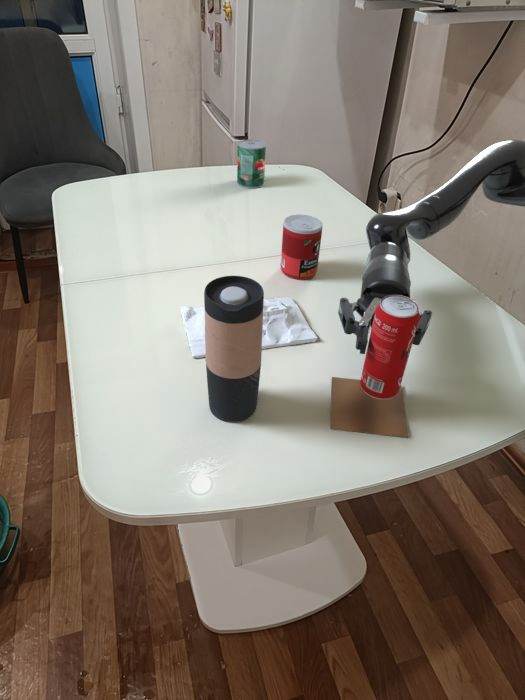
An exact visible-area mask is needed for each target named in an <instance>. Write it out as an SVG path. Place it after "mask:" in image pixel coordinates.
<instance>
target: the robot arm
mask: <svg viewBox="0 0 525 700" xmlns="http://www.w3.org/2000/svg"><path fill="white" fill-rule="evenodd" d="M480 186H481V190H482V194H483V197H485V198H486V200H489V201H490V202H494V203H497V204H503V205H509V206H514V207H519V208H525V140H522V139H507V140H502V141H499V142H497V143H494V144H492V145H490V146H488V147H487V148H485V149H484V150H482V151H481V152H480V153H479V154H477V155H476V156H475V157H474V158H472V159H471V160H470V161H469V162H468V163H466V165H464V166H463V167H462V168H461V169H460V170H459V171H458V172H456V174H454V175H453V177H451V178H450V179H449V180H448V181H447V182H445V183H444V184H442V185H441V186H439V187H438V188H437V189H435V190H434V191H432V192H431V193H429V194H427V195H426V196H424V197H422V198H420V199H419V200H417V201H416V202H414V203H412V204H410V205H407V206H404V207H402V208H398V209H394V210H388V211H384V212H383V211H382V212H379V213H377V214H375V215H373V216H372V217H371V218H370V219H369V220H368V222H367V223H366V225H365V235H366V239H367V244H368V247H369V252H368V254H367V257H366V260H365V261H366V262H365V269H364V272H363V275H362V278H361V289H360V297H359V298H358V299H357V300H356V301H349V299H348V298H347V297H340V299H339V305H338V309H337V310H338V312H337V313H338V317H339V320H340V323H341V326H342V330H343V332H344V333H345V334H346V335H352V334H354V335H355V337H356V339H355V349H356V350H357V351H359V354H360V355H366V352H367V347H368V342H369V333H371V329H372V324H373V319H374V315H375V310H376V307H377V306H378V305H379V303H380V301H381V299H382V298H384V297H385V296H388V295H402V296H406V297H409V298H411V286H412V281H411V278H410V272H409V264H410V262H411V247H410V243H409V237H408V236H410V237H411V238H412V239H413V240H415V241H420V242H421V241H425V240H428V239H430V238H431V237H433V236H434V235H436V234H438V233H439V232H441V231H442V230H444V229H445V228H447V227H449V226H450V225H451V224H452V223H454V222H455V221H456V220H457V219H458V218H459V217H460V216H461V214H462V213H463V211H464V210H465V209H466V208H467V206H468V204H469V202H470V201H471V199H472V197H473V196H474V194H475V193H476V192H477V190H478V189H479V187H480ZM354 312H356V313H357V314H358V315H359V317H361V318H360V320H359V321H358V320H356V317H355V314H354ZM419 314H420V319H419V322H418V326H417V329H416V333H415V336H414V340H413V343H412V345H414V346H420V344H421V343H422V341H423V338H424V337H425V335H426V333H427V331H428V328H429V326H430V323H431V319H432V316H433V311H431V310H430V309H425V310H424V311H423V312H419ZM409 350H410V348H409V349H408V351H407V354H406V358H407V356H408V354H409ZM410 351H411V350H410ZM404 354H405V350H403V352H402V355H401V359H400V360H403V357H404ZM409 355H410V354H409Z"/></svg>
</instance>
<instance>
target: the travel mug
mask: <svg viewBox="0 0 525 700" xmlns="http://www.w3.org/2000/svg"><path fill="white" fill-rule="evenodd" d="M264 297H265V291H264V288H263V286H262V285H261V284H260V283H259V282H258V281H256V280H255V279H253V278H251V277H247V276H243V275H225V276H224V275H223V276H219V277H217V278H214V279H212V280H211V281H209V282H208V283H207V284H206V285H205V287H204V293H203V303H204V306H203V307H205V350H206V357H205V369H206V370H205V371H206V382H207V397H208V405H209V406H208V407H209V410H210V412H211V414H212V415H213V416H214V418H217V419H218V420H220V421H223V422H226V423H240V422H244V421H246V420H248V419H249V418H251V417H252V416H253V415H254V414H255V412H256V410H257V408H258V401H259V389H260V380H261V379H260V378H261V368H262V352H263V351H262V350H263V349H262V328H263V303H264V300H265V298H264Z"/></svg>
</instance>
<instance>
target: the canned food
mask: <svg viewBox="0 0 525 700" xmlns="http://www.w3.org/2000/svg"><path fill="white" fill-rule="evenodd" d="M322 236H323V221H321V220H320V219H319V218H317V217H316V216H312V215H308V214H292V215H289V216H287V217H285V218H284V220H283V224H282V237H281V252H280V270H281V272H282V273H283V274H284V275H285V276H286V277H288V278H291V279H294V280H309V279H311V278H314V276H316V274H317V271H318V268H319V260H320V259H319V258H320V252H321V251H320V250H321V245H322V243H321V242H322Z"/></svg>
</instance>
